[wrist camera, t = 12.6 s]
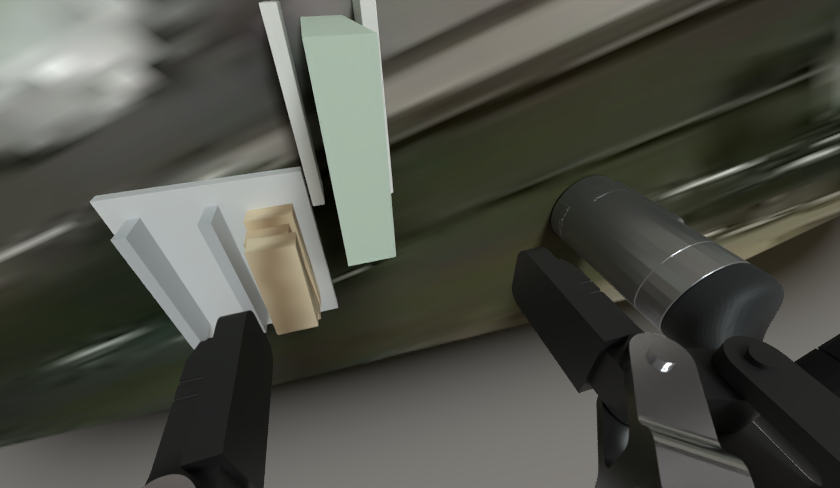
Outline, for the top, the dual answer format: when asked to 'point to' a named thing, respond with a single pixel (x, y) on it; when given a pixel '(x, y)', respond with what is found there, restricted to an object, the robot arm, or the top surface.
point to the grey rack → (207, 244)
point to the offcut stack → (282, 268)
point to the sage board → (352, 131)
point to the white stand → (291, 91)
